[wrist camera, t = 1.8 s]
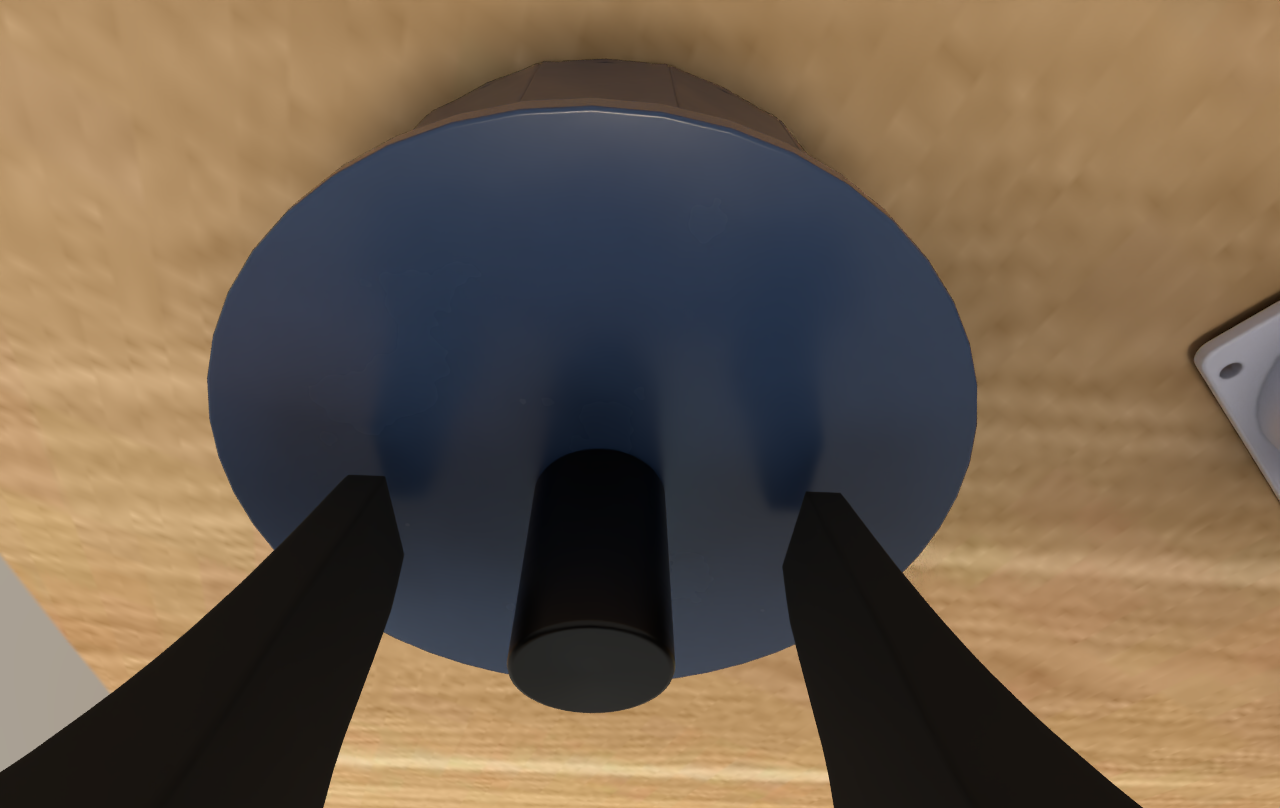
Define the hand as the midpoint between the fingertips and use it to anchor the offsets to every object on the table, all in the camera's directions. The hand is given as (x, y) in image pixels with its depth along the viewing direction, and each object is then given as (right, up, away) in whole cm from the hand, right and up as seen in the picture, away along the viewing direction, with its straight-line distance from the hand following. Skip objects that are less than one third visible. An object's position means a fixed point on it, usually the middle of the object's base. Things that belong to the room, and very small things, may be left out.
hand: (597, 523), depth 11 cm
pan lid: (0, +1, +1) cm, 1 cm away
